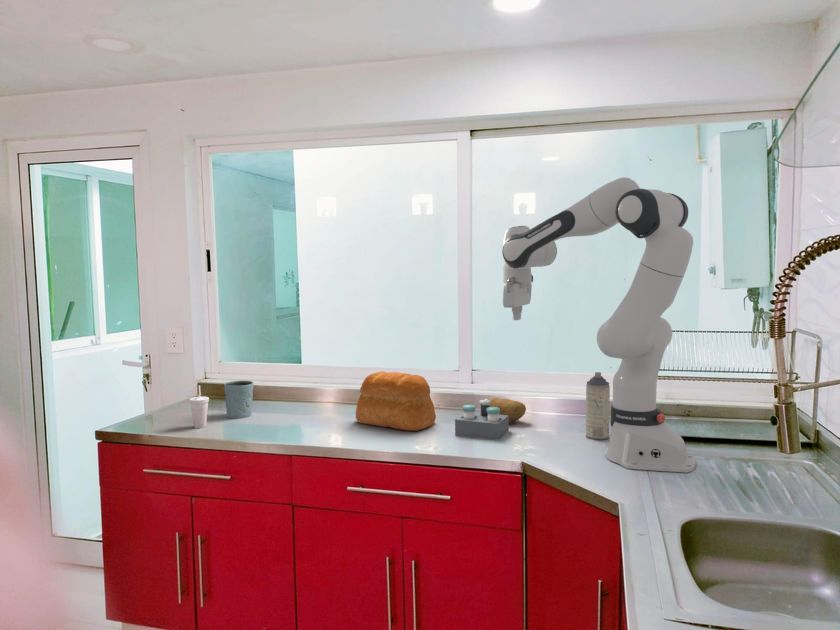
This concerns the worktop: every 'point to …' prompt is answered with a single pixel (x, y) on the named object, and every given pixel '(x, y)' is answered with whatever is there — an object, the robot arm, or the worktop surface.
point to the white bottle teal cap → (493, 413)
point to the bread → (395, 401)
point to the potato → (509, 408)
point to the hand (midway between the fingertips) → (517, 320)
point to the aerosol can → (597, 408)
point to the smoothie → (199, 410)
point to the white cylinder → (469, 411)
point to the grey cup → (239, 399)
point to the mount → (482, 424)
